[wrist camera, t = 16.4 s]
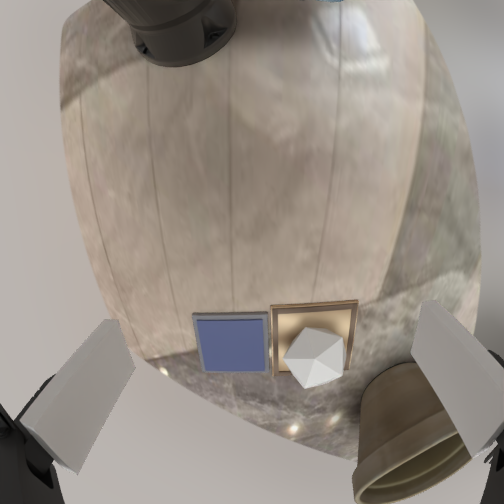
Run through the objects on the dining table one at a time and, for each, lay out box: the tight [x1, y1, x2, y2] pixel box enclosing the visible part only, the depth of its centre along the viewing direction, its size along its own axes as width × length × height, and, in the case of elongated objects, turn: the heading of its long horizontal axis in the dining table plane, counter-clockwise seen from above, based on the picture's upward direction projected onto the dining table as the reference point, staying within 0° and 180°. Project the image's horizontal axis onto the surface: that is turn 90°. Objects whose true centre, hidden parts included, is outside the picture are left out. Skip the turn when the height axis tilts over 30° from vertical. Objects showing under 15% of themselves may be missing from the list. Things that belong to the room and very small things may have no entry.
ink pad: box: [192, 312, 269, 373], centre depth 40 cm, size 11×11×1 cm
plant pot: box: [352, 363, 472, 504], centre depth 32 cm, size 25×25×22 cm
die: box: [282, 327, 346, 389], centre depth 35 cm, size 8×9×10 cm
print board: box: [271, 300, 359, 376], centre depth 39 cm, size 13×13×1 cm
